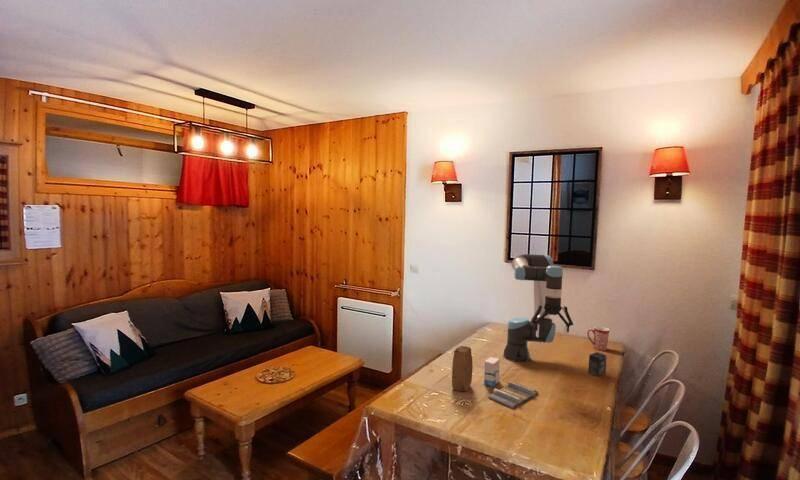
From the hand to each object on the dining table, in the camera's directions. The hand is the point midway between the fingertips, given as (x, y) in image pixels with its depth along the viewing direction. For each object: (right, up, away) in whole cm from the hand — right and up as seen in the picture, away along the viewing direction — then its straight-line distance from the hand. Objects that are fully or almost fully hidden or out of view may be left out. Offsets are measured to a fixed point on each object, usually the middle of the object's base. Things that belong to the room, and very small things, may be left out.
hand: (551, 337), depth 199 cm
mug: (+51, -21, +53) cm, 76 cm away
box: (+30, -23, +12) cm, 40 cm away
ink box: (-31, -22, -3) cm, 38 cm away
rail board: (-24, -23, -16) cm, 37 cm away
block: (-47, -22, -9) cm, 53 cm away
